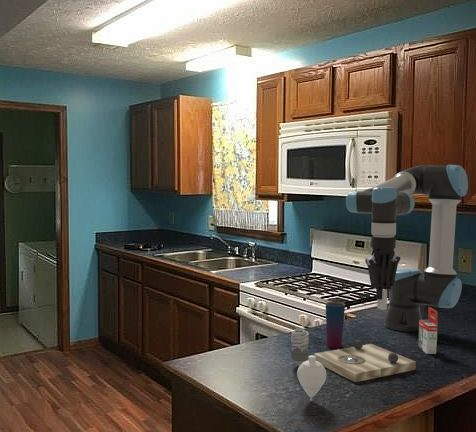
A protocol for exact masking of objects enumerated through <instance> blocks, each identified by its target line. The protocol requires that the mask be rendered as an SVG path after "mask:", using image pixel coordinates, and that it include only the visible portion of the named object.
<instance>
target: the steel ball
mask: <svg viewBox="0 0 476 432" xmlns="http://www.w3.org/2000/svg"><path fill="white" fill-rule="evenodd" d="M346 361H347V362H355V360H354V359H353V358H347V359H346Z"/></svg>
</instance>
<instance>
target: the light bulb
mask: <svg viewBox="0 0 476 432" xmlns="http://www.w3.org/2000/svg"><path fill="white" fill-rule="evenodd" d="M290 335H291V336H290V341H291V346H292V349H290V353H291V360H292V361H295V365H296V366H297V367H299V366H300V365H301V364H302V363H303V362H305V361H308V360H309V350H308V347H309V343H310V336H309V335H310V333H309V332H308V331H307V330H305V329H303V328H295V331H292V332H291V334H290Z"/></svg>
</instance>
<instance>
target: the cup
mask: <svg viewBox="0 0 476 432" xmlns="http://www.w3.org/2000/svg"><path fill="white" fill-rule="evenodd" d="M345 313H346V304H345V303H344V302H339V301H328V302H325V321H326V322H325V325H326V326H325V327H326V346H327V347H328V348H331V349H341V348H342V345H343V333H344V322H345Z"/></svg>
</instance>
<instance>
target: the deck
mask: <svg viewBox="0 0 476 432" xmlns="http://www.w3.org/2000/svg"><path fill="white" fill-rule="evenodd" d="M390 353H394V352H393V351H390V350H388V349H386V348H384V347H380V346H378V345H375V344H373V343H367V344H363V347H362V348H361V349H356V348H355V347H354V346H351V347H344V348H337V349H333V350H326V351H321V352H316V353H314V354H313V356H316V360H315V361H317V362H320V363H321V364H322V365H323V367H324V368H325V369H326V368H327V369H328V370H330V371H332V372H334V373H336V374H338V375H339V376H342V377H344V378H346V379H348V380H350V381H351V382H354V383H357V382H358V383H359V382H362V381H368V380H373V379H376V378H382V377H387V376H392V375H396V374H402V373H406V372H411V371H415V370H416V367H417V366H416V365H417V363H416V361H415V360H413V359H410V358H407V357H405V356H402V355H400V354H398V353H396V354H397V355H398V361H397V362H395V363H392V362H390V361H389V359H388V355H389V354H390ZM347 358H353V359H354V360H355V362H347V361H346V359H347Z"/></svg>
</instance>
